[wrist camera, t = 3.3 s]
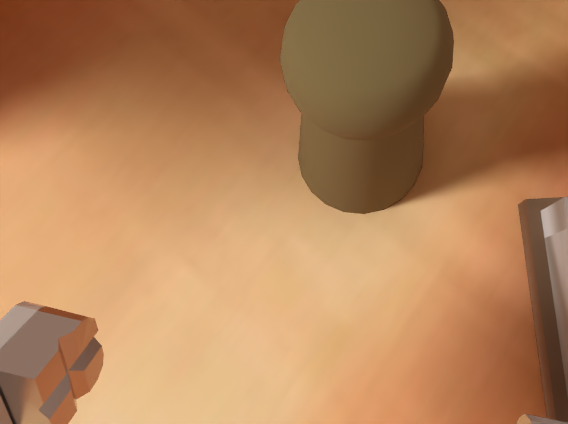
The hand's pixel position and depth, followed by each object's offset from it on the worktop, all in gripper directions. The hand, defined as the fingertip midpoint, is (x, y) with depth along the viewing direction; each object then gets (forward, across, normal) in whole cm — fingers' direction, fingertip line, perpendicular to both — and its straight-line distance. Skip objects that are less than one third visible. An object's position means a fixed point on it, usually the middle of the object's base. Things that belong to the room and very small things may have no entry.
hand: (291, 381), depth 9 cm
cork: (+16, 0, +3) cm, 16 cm away
